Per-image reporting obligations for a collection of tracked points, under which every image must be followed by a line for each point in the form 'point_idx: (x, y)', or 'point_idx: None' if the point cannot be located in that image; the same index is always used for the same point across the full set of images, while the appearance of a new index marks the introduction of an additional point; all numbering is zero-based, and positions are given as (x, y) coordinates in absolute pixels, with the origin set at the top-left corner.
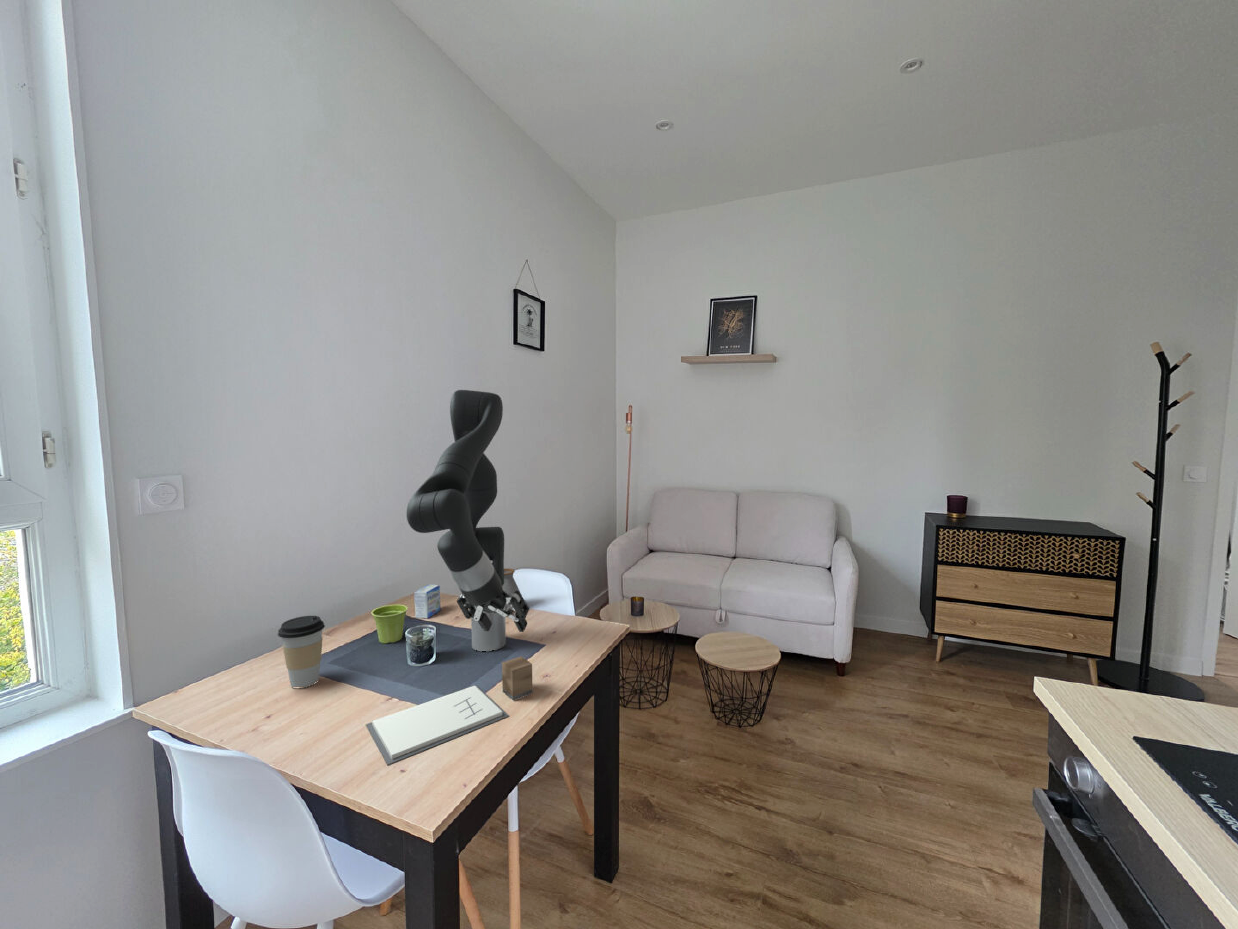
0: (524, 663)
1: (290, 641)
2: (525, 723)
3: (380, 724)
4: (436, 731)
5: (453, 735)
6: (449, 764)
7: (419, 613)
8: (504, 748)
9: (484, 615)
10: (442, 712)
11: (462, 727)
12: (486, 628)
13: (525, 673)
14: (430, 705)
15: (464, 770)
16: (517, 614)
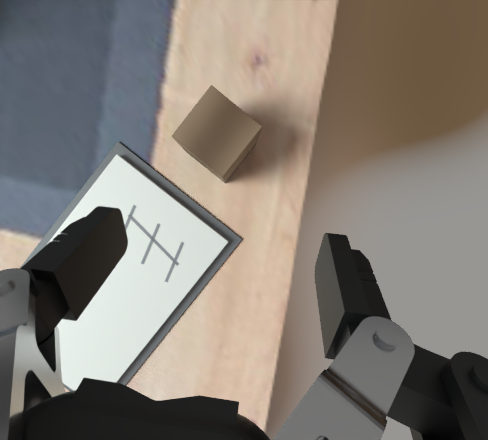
0: (239, 128)
1: None
2: (282, 253)
3: None
4: (133, 330)
5: (168, 320)
6: (203, 386)
7: None
8: (275, 330)
9: (62, 283)
10: None
11: (175, 307)
12: (116, 260)
13: (247, 148)
14: None
15: (235, 394)
16: (390, 414)
